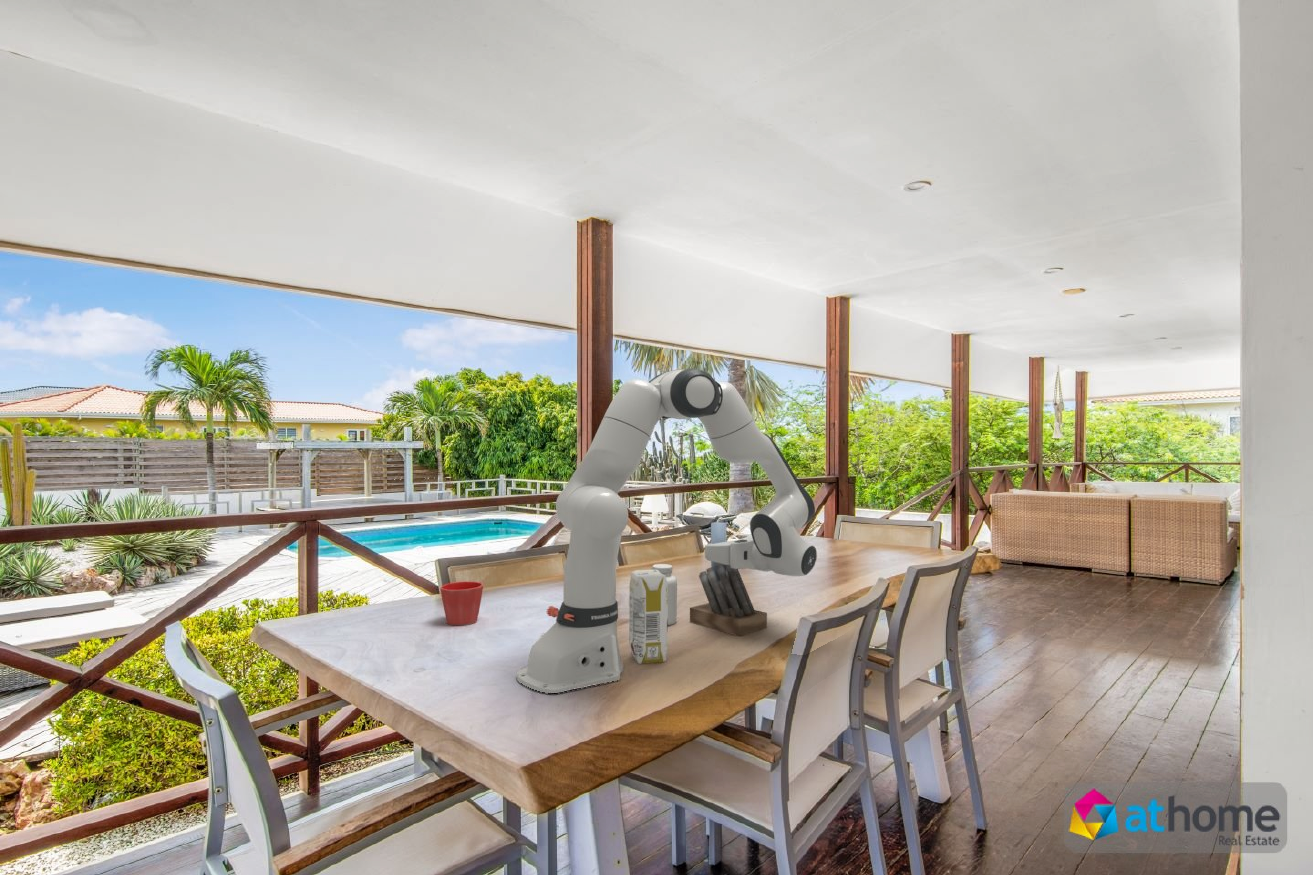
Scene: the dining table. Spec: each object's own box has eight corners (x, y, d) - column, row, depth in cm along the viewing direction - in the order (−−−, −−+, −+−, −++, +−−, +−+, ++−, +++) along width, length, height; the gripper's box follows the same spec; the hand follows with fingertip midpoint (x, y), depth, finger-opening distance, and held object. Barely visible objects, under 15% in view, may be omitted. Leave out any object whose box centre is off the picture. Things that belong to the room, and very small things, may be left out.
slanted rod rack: (766, 630, 173) (767, 562, 172) (739, 638, 165) (739, 568, 165) (717, 617, 185) (717, 553, 185) (689, 624, 178) (690, 558, 178)
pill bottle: (677, 626, 173) (677, 568, 173) (646, 626, 174) (646, 568, 174) (676, 618, 181) (676, 562, 181) (647, 617, 182) (647, 562, 182)
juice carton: (636, 666, 143) (636, 577, 143) (627, 653, 152) (627, 569, 152) (670, 662, 145) (670, 575, 145) (659, 650, 154) (659, 568, 154)
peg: (719, 582, 175) (719, 524, 175) (708, 579, 178) (708, 523, 178) (729, 579, 177) (729, 523, 177) (718, 577, 180) (718, 521, 180)
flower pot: (437, 619, 180) (437, 583, 180) (479, 614, 185) (479, 579, 185) (443, 629, 170) (443, 591, 170) (486, 624, 175) (486, 587, 175)
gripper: (782, 535, 175) (741, 529, 185) (730, 543, 161) (689, 537, 171) (782, 559, 175) (741, 552, 185) (730, 569, 161) (689, 561, 171)
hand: (716, 545), depth 178 cm, fingers closed on peg, 4 cm apart
